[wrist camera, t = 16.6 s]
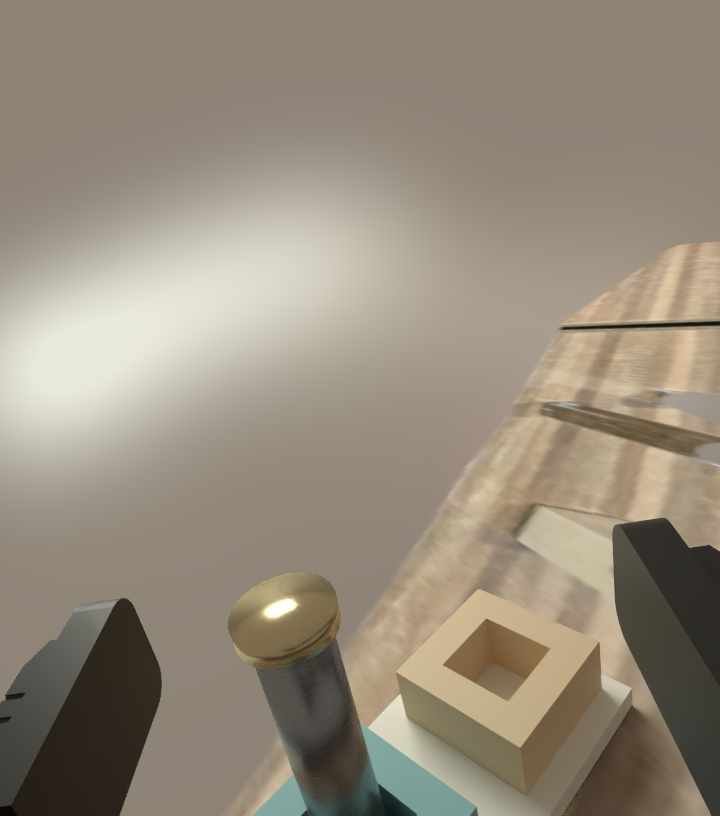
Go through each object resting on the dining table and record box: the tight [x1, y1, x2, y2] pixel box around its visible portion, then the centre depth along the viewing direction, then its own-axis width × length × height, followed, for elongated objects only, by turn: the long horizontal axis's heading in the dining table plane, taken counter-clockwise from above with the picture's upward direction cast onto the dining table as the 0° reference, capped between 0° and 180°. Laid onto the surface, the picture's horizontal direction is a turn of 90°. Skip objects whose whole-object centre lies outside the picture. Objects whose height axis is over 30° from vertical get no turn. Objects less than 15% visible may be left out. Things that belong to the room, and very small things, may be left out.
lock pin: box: [228, 572, 386, 816], centre depth 30 cm, size 5×5×18 cm
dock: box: [253, 589, 632, 816], centre depth 37 cm, size 25×12×6 cm, turn 135°
